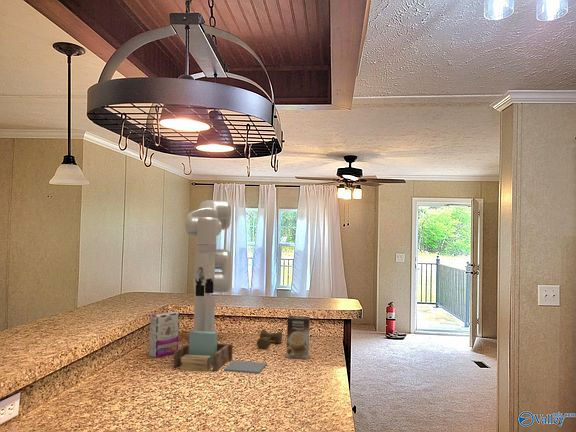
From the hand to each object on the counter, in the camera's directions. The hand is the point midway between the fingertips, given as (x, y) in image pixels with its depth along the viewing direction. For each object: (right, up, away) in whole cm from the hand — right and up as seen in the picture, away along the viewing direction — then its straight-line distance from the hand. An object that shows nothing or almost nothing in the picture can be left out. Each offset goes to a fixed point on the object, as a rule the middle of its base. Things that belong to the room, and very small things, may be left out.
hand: (204, 294), depth 174 cm
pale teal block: (-1, -26, -1) cm, 26 cm away
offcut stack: (-2, -26, -8) cm, 27 cm away
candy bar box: (-19, -26, +11) cm, 34 cm away
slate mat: (+16, -26, -4) cm, 31 cm away
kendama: (+23, -29, +34) cm, 50 cm away
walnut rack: (-1, -26, -1) cm, 26 cm away
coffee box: (+36, -28, +13) cm, 47 cm away
